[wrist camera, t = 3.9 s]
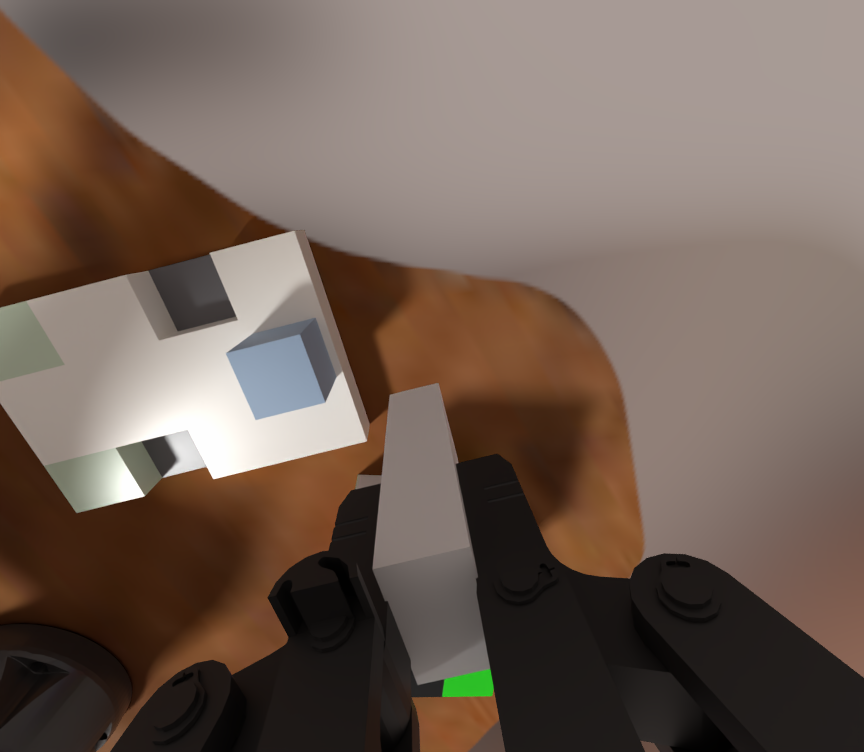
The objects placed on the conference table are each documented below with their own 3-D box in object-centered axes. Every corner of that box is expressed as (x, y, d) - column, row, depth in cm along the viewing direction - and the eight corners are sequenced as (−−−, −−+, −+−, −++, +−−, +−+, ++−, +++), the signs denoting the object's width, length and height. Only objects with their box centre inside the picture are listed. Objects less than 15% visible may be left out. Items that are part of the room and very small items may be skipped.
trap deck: (101, 491, 31) (76, 513, 28) (-15, 313, 26) (-56, 322, 23) (369, 424, 30) (366, 441, 28) (304, 229, 25) (294, 230, 23)
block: (276, 392, 26) (255, 420, 23) (252, 333, 25) (225, 353, 21) (336, 377, 26) (325, 402, 22) (315, 317, 25) (299, 334, 21)
